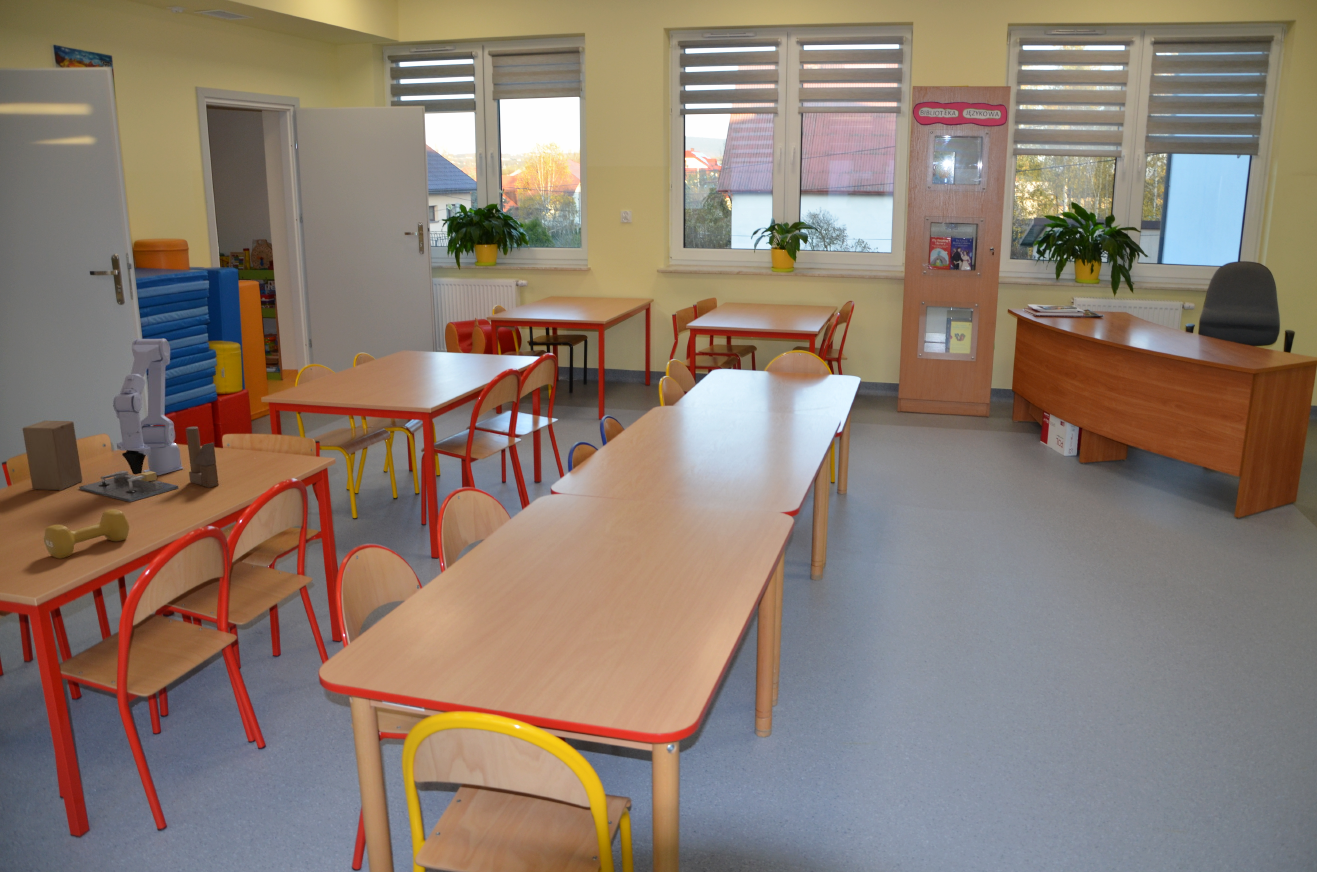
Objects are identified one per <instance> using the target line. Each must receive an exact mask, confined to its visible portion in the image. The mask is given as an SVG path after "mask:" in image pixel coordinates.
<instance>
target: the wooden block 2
mask: <svg viewBox="0 0 1317 872" xmlns="http://www.w3.org/2000/svg"><path fill="white" fill-rule="evenodd" d="M185 432H186V433H185V434H186V435H185V436H186V441H187V449H188V457H189V464H190V465H189V466H190V471H188V475H189V482H190V483H192V484H195V485H198V486H202V487H204V488H208V489H209V488H213V487H217V486H219V485H220V484H219V476H218V469H217V458H216V450H215V442H210V443H205V444H202V446H201V440H200V431H199V427H198V426H188V427H186V428H185Z"/></svg>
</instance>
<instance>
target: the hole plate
mask: <svg viewBox="0 0 1317 872" xmlns="http://www.w3.org/2000/svg"><path fill="white" fill-rule="evenodd" d="M134 477H138V475H135V474H129V471H127V470H119V471H117V472H115V471H114V472H113V473H111V474H106V475H103V476H100V479H101V480H100V481H99V480H98V481H96V482H93V483H88V484H84V485H80V486H79V488H78V489H79V490H81V491H85V492H89V493H92V494H96V495H101V496H105V497H109V498H113V499H117V500H120V501H125V502H128V503H132V502H135V501H139V500H142V499H146V498H149V497H152V496H157V495H160V494H163V493H166V492H170V491H173V490H177V489H179V485H176V484H172V483H169V482H165V481H164V482H163V481H159V480H157V479H156V480H152V481H148V482H146V481H142V480H141V479H138V480H134V481H132V485H133V491H130V487H129V481H128V479H130V478H134Z"/></svg>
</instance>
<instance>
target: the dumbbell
mask: <svg viewBox="0 0 1317 872" xmlns="http://www.w3.org/2000/svg"><path fill="white" fill-rule="evenodd" d="M129 531H130V525H129V521H128V519H127V517H126V514H125V513H124V512H123V510H119V509H115V508H111V509H107V510H105V511H104V512H102V514H101V518H100V521H99V523H96V524H92V525H91V524H90V525H87V526H85V527H81V528H77V529H75V530H70V529H69V528H68V527H67V526H65V525H62V524H52V525H49V526H47V527H46V528H45V529H44V536H43V542H44V545H45V548H46V550H47V552H48V553H49V554H50V555H51V556H52V557H53V558H56V559H59V560H60V559H64V558H67V557H69V556H71V555H72V553H73V551H74V549H75V545H77V544H78V543H83V542H85V541H88V540H92V539H95V538H99V537H103V536H104V537H105V538H106V539H107V540H110V541H112V542H121V541H124V540H126V539H127V538H128V536H129Z"/></svg>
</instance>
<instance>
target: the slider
mask: <svg viewBox="0 0 1317 872" xmlns="http://www.w3.org/2000/svg"><path fill="white" fill-rule="evenodd" d="M137 476H138V475H137ZM157 476H158V475H156V472H152V471H148V472H142V473H140V475H139V476H138V477H134V478H130V479H128V481H129V487H130V491H133V485H132V481H134V480H138V479H141V480H142V481H146V482H148V481H152V480H156V481H157V480H158V478H157Z"/></svg>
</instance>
